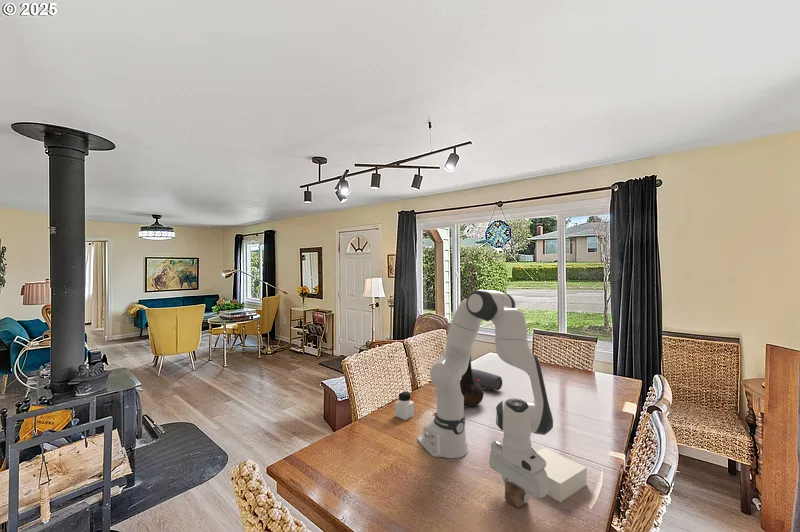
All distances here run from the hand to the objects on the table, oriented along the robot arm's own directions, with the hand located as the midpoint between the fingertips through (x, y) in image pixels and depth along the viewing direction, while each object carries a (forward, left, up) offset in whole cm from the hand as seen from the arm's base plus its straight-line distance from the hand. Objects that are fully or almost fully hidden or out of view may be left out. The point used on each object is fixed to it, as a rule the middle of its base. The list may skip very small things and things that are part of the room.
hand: (516, 495), depth 112 cm
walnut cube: (0, 0, -2) cm, 2 cm away
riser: (0, +19, -2) cm, 19 cm away
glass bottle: (-66, +44, -2) cm, 79 cm away
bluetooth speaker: (-80, +72, -2) cm, 108 cm away
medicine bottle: (-73, +7, -2) cm, 73 cm away
